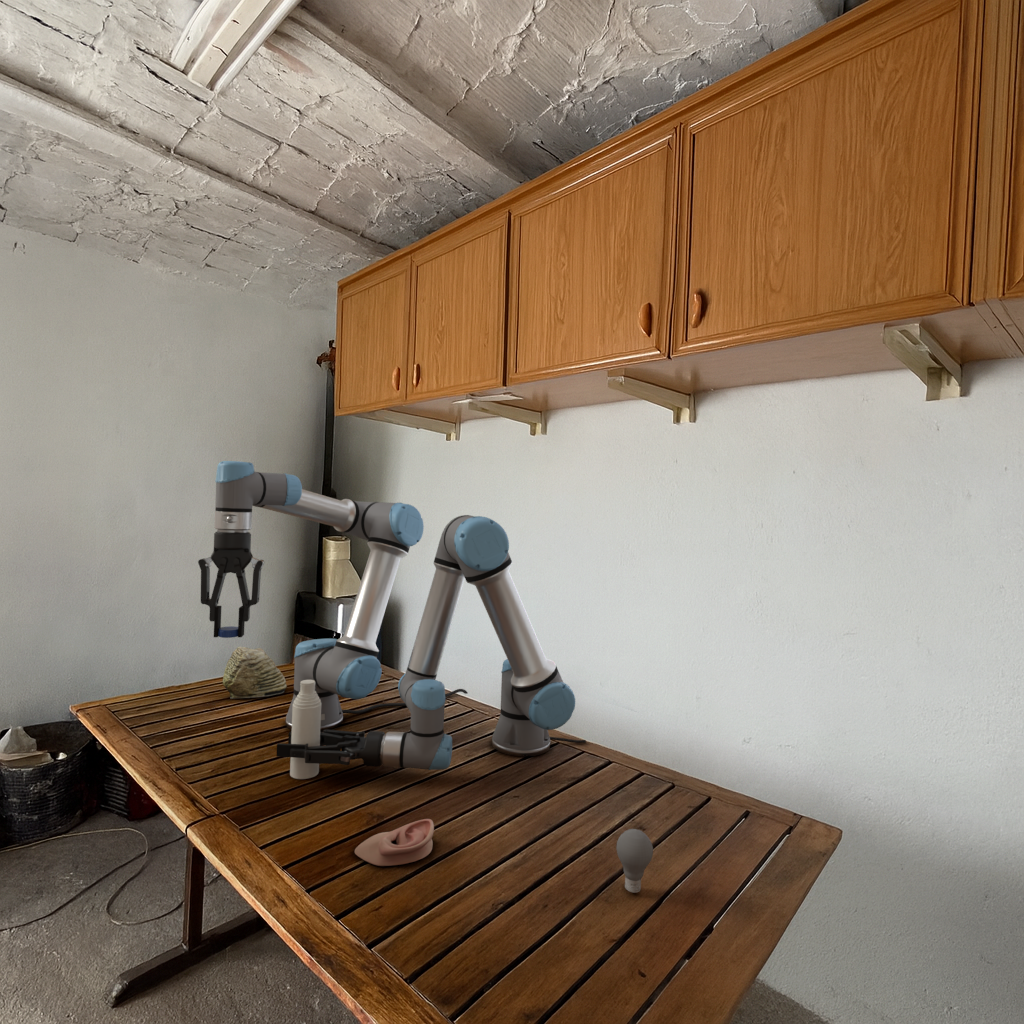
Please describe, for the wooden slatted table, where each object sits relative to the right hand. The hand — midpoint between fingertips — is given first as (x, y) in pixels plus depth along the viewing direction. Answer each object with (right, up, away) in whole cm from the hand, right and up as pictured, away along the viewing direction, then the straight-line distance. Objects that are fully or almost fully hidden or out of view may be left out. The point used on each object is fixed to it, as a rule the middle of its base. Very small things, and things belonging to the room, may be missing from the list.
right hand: (283, 743), depth 145 cm
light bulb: (+72, -10, -39) cm, 83 cm away
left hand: (-11, +25, -4) cm, 28 cm away
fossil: (-28, -4, +53) cm, 61 cm away
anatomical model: (+31, -8, -30) cm, 44 cm away
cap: (-11, +27, -4) cm, 29 cm away
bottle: (+5, -7, 0) cm, 8 cm away
